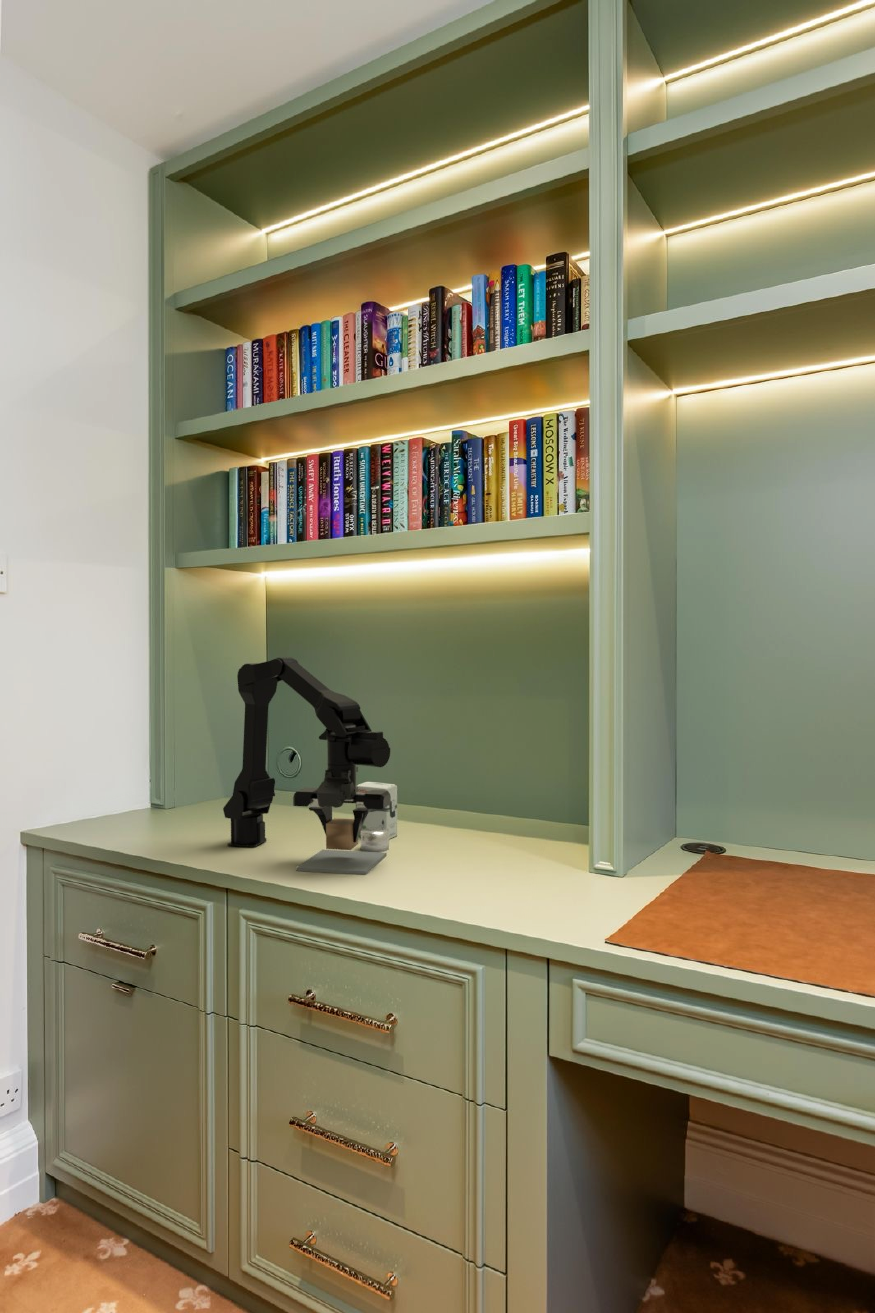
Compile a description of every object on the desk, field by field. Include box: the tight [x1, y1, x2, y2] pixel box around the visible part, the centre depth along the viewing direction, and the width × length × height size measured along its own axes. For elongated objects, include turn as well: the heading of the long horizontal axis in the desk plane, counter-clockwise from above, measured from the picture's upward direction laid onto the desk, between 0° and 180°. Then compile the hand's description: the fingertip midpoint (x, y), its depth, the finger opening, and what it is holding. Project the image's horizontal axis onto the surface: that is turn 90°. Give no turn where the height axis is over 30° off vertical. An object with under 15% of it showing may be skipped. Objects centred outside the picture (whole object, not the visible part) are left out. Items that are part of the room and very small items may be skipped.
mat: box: [295, 849, 387, 875], centre depth 159 cm, size 14×14×1 cm
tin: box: [360, 827, 390, 853], centre depth 170 cm, size 6×6×4 cm
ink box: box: [355, 781, 398, 840], centre depth 181 cm, size 9×5×12 cm, turn 62°
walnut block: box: [325, 817, 359, 851], centre depth 159 cm, size 5×5×5 cm
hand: (342, 841), depth 159 cm, fingers closed on walnut block, 5 cm apart
